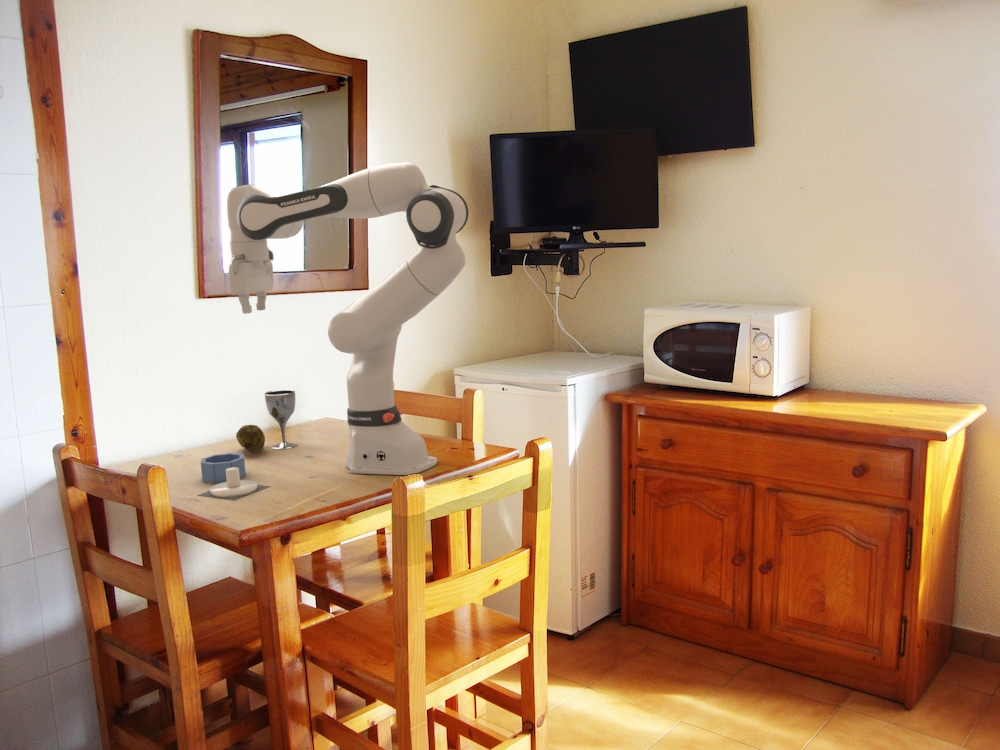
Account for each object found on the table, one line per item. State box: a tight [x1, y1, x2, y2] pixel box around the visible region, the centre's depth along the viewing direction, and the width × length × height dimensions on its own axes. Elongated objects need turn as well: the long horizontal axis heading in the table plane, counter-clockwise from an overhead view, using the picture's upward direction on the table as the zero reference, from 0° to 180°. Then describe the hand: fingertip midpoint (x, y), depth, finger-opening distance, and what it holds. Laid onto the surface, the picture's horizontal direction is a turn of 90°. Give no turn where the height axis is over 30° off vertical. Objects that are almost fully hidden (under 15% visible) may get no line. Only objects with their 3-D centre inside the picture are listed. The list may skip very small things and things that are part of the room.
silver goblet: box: [264, 389, 299, 450], centre depth 227 cm, size 8×8×15 cm
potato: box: [235, 424, 266, 452], centre depth 222 cm, size 8×13×8 cm, turn 2°
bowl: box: [200, 452, 247, 484], centre depth 196 cm, size 10×10×5 cm
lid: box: [209, 467, 258, 498], centre depth 184 cm, size 10×10×5 cm
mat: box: [197, 484, 271, 502], centre depth 184 cm, size 11×11×1 cm
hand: (254, 311), depth 203 cm, fingers open, 8 cm apart
